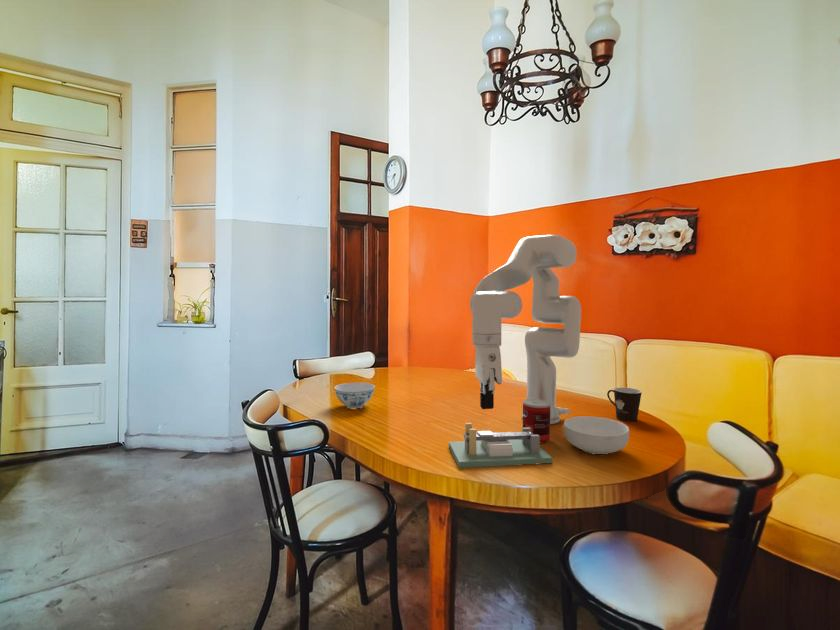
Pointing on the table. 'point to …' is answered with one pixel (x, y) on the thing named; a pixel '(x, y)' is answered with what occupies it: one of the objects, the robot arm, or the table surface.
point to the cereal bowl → (596, 434)
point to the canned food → (537, 417)
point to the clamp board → (497, 461)
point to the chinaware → (354, 394)
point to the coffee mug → (626, 403)
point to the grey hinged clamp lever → (500, 435)
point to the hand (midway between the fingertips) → (486, 407)
